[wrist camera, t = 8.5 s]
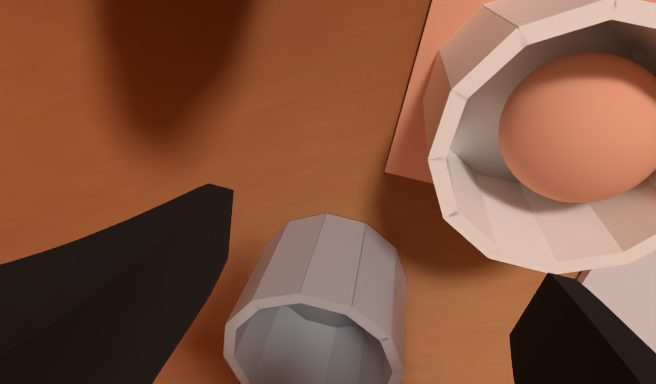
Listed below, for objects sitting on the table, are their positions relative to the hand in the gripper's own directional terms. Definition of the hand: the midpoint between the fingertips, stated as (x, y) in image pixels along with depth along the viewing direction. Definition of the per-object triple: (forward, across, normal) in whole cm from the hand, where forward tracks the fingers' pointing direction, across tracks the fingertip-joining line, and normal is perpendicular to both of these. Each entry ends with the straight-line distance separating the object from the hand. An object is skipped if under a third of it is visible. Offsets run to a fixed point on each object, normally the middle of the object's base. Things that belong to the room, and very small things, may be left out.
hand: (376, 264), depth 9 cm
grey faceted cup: (+10, +1, +10) cm, 14 cm away
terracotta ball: (+7, -6, -2) cm, 10 cm away
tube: (+10, -5, -2) cm, 12 cm away
